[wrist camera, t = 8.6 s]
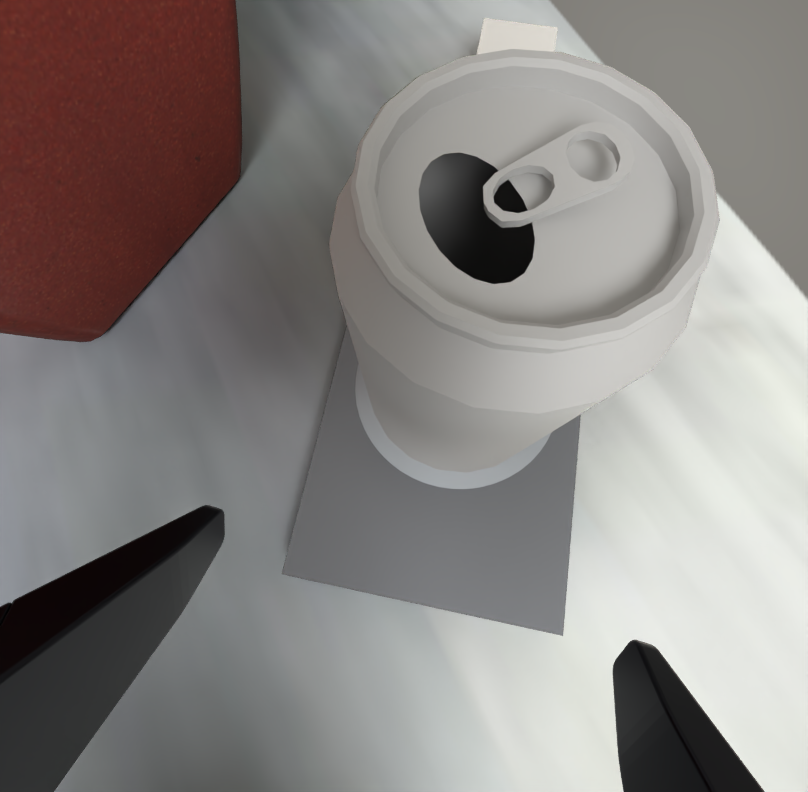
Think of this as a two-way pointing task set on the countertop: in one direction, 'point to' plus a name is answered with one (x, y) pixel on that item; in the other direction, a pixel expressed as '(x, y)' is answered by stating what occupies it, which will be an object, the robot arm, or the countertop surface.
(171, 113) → the plant pot
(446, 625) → the countertop surface
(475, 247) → the can
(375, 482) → the pad
